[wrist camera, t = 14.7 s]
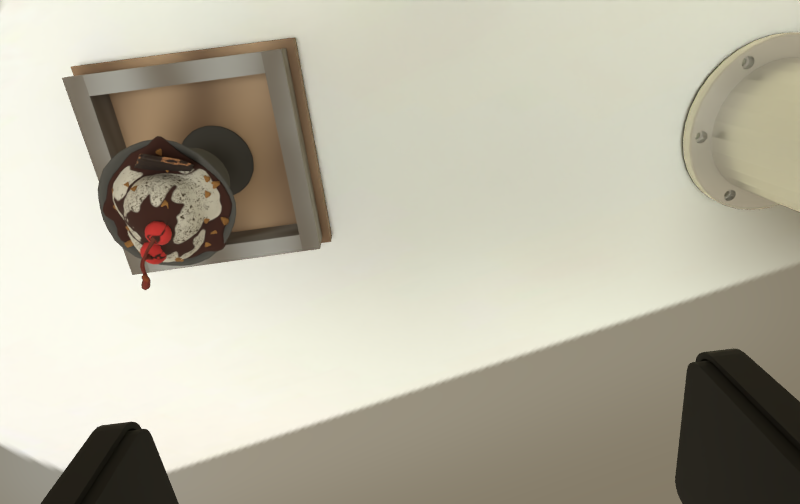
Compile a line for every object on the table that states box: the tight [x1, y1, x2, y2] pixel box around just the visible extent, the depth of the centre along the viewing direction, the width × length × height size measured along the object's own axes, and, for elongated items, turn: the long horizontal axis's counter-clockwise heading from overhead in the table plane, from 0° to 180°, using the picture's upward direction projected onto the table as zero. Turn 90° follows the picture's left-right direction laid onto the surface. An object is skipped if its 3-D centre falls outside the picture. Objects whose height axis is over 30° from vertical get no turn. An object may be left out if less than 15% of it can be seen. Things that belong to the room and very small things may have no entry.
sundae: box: [98, 126, 254, 290], centre depth 29 cm, size 7×7×15 cm
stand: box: [62, 38, 332, 275], centre depth 35 cm, size 14×14×4 cm
